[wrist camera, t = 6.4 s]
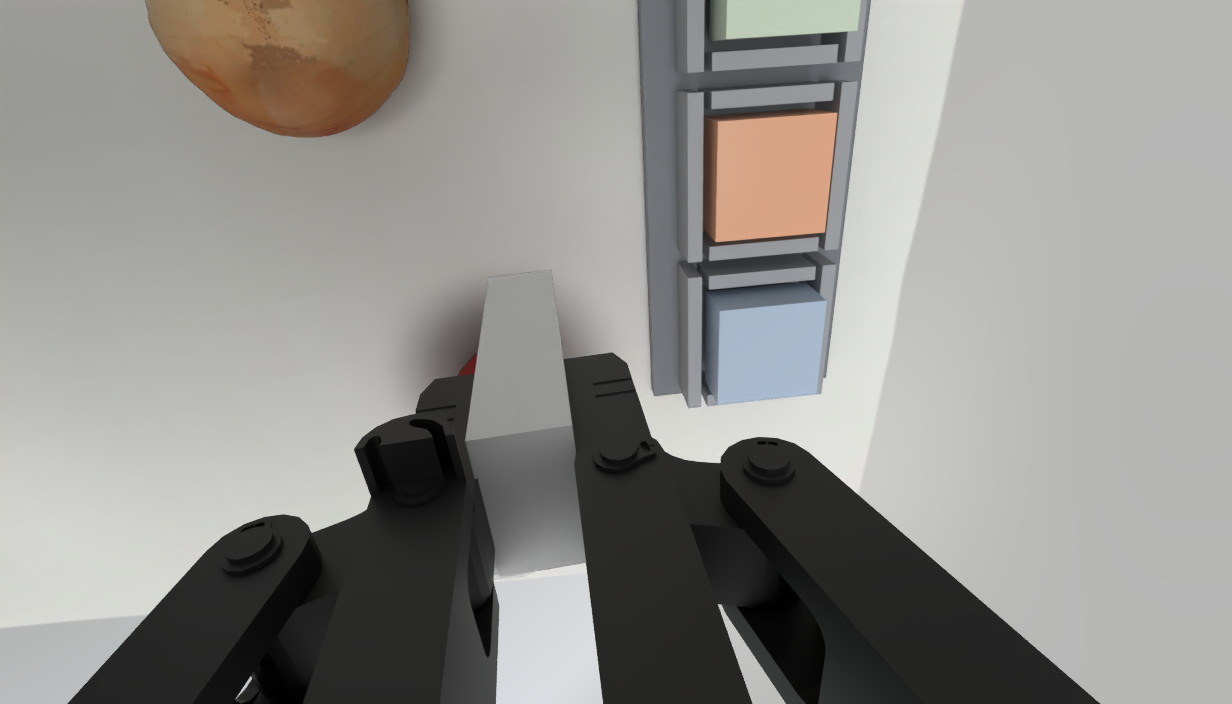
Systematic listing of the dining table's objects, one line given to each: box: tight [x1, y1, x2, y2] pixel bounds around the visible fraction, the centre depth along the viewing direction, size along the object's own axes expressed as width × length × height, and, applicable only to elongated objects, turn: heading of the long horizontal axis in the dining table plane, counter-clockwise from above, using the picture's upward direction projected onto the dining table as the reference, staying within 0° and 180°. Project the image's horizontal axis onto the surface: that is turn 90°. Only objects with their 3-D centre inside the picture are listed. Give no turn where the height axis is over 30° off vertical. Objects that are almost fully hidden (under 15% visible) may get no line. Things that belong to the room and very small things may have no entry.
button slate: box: [705, 282, 827, 405], centre depth 34 cm, size 6×6×3 cm
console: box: [638, 0, 871, 408], centre depth 30 cm, size 38×12×4 cm, turn 3°
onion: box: [145, 0, 409, 137], centre depth 24 cm, size 10×10×10 cm
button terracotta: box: [703, 108, 837, 242], centre depth 31 cm, size 6×6×3 cm
